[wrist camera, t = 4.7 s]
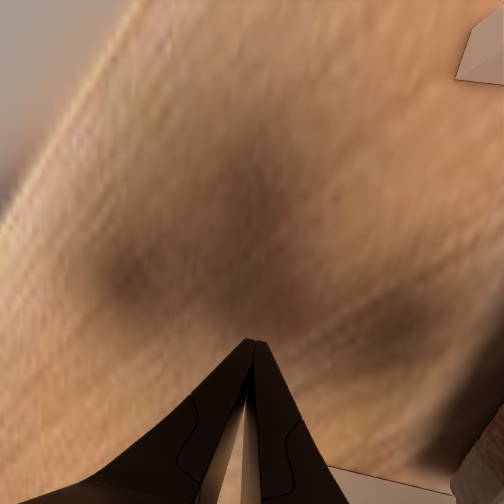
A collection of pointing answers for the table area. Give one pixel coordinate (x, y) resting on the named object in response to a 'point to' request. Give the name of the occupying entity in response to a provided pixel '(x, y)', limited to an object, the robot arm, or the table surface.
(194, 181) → the table surface
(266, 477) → the robot arm
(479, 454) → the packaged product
